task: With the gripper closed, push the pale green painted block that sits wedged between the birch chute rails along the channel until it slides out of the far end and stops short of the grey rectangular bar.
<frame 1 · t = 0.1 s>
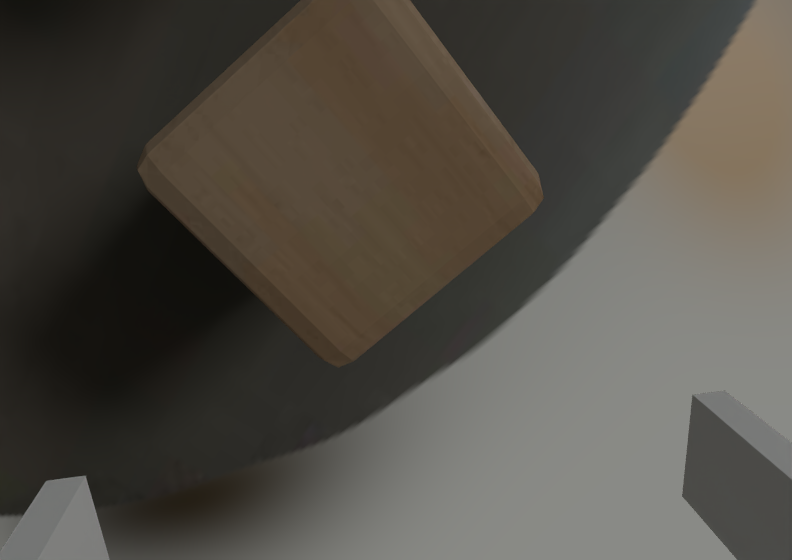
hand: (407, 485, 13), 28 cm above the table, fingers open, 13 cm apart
wooden block: (333, 129, 38), on the table
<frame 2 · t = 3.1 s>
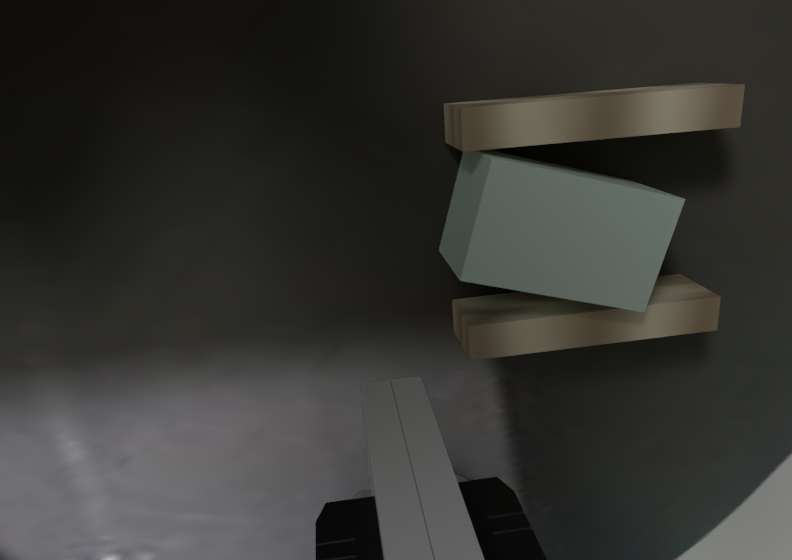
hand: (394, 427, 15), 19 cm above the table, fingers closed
block: (534, 214, 35), on the table
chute: (569, 212, 35), on the table
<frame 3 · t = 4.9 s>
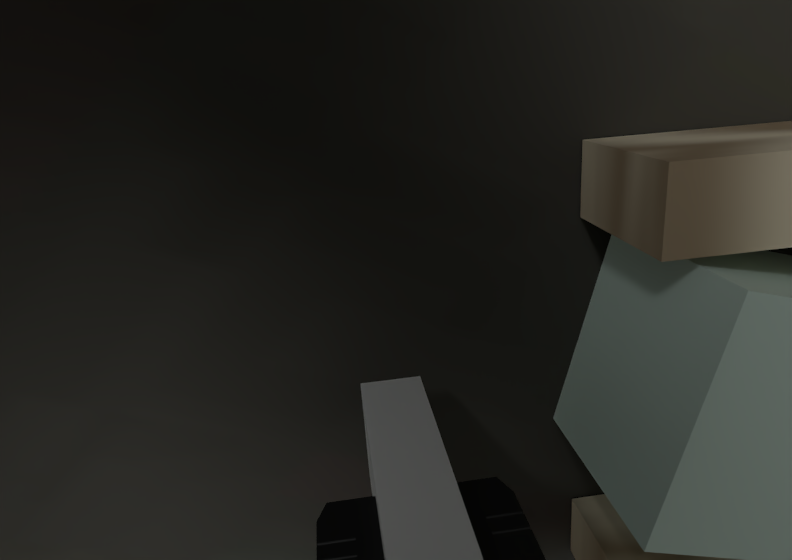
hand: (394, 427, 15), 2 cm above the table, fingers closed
block: (733, 346, 18), on the table
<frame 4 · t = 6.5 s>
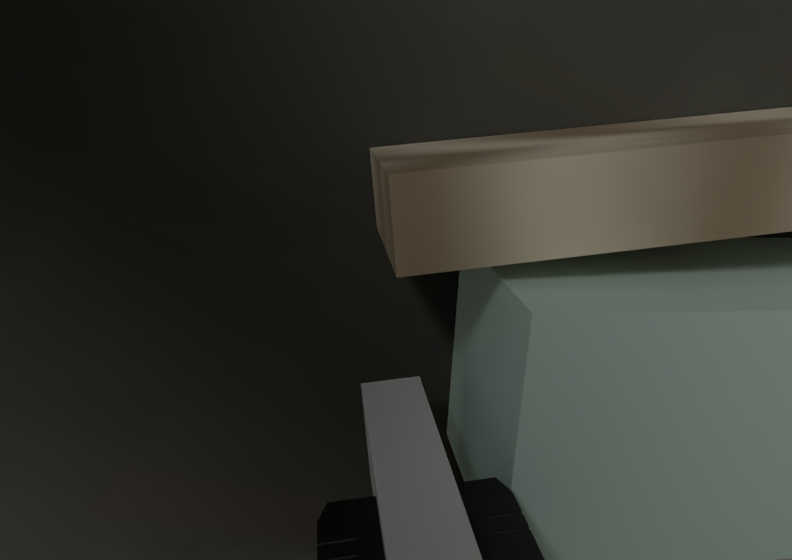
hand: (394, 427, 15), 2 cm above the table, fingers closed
block: (622, 336, 18), on the table
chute: (629, 351, 18), on the table
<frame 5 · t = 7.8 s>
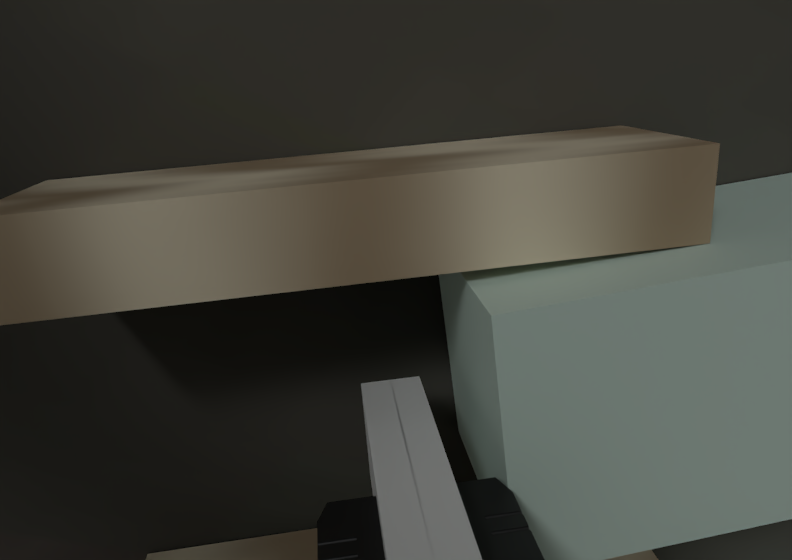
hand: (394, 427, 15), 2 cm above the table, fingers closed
block: (620, 306, 17), on the table, touching gripper
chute: (370, 387, 17), on the table
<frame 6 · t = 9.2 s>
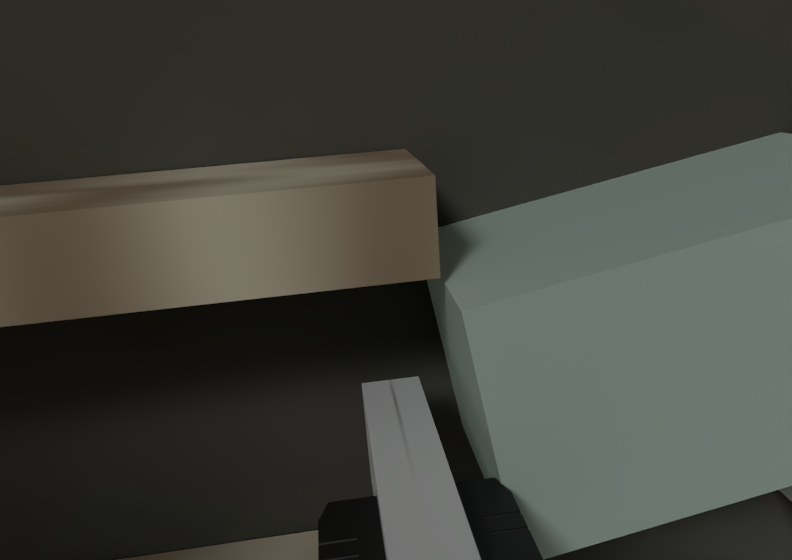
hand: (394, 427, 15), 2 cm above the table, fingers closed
block: (611, 285, 17), on the table, touching gripper
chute: (165, 415, 16), on the table
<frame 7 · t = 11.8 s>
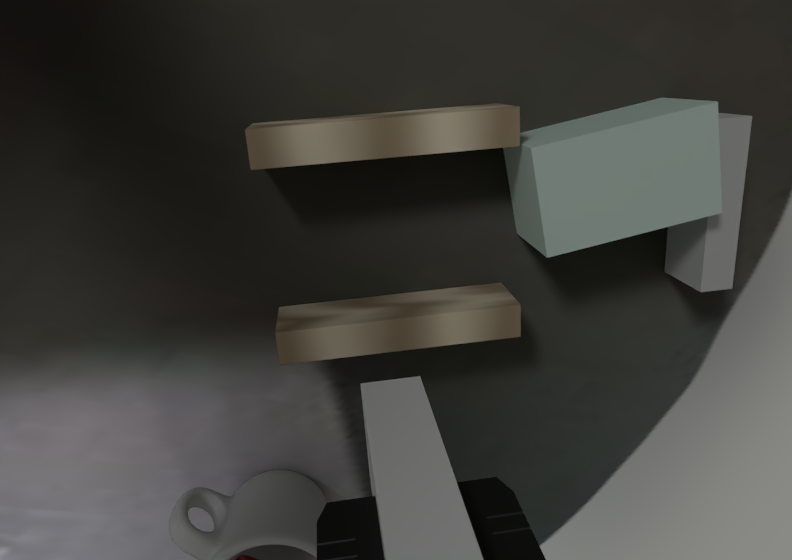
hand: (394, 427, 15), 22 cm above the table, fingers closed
grey rectangular bar: (685, 194, 38), on the table
block: (587, 166, 37), on the table
cup: (261, 492, 42), on the table
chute: (386, 224, 37), on the table
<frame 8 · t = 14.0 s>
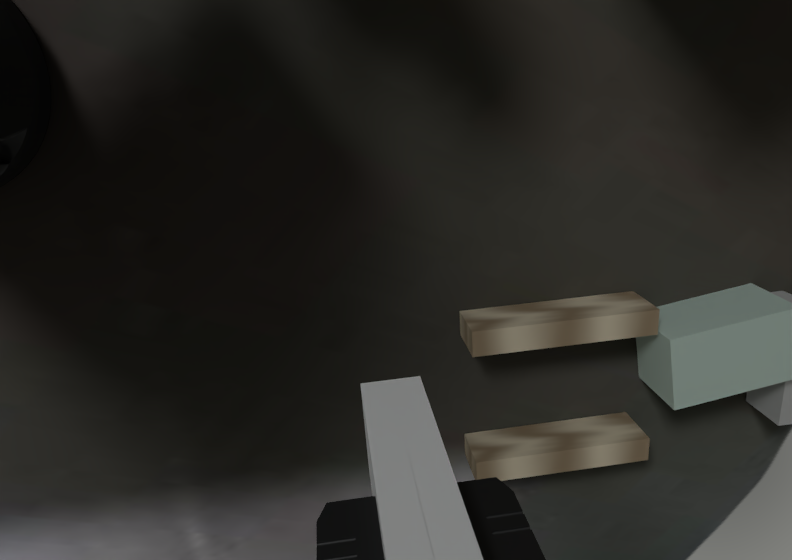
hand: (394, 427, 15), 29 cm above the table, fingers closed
grey rectangular bar: (763, 347, 52), on the table
block: (693, 330, 50), on the table
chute: (546, 375, 50), on the table
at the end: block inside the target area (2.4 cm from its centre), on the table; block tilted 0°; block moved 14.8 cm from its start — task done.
